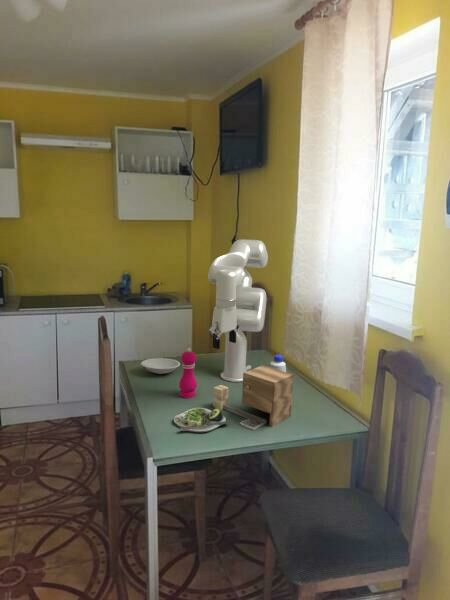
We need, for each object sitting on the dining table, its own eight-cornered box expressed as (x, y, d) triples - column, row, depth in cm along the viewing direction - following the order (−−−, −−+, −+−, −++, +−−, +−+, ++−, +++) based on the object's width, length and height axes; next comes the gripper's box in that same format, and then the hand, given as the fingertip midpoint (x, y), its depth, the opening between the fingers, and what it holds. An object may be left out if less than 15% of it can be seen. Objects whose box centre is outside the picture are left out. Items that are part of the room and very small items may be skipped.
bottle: (285, 401, 201) (288, 353, 197) (281, 407, 194) (285, 358, 190) (269, 398, 203) (272, 351, 199) (265, 405, 197) (268, 356, 193)
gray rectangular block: (250, 421, 183) (250, 417, 183) (263, 426, 179) (263, 422, 179) (240, 426, 179) (240, 422, 178) (253, 431, 175) (253, 427, 175)
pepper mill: (194, 399, 199) (195, 351, 195) (176, 397, 200) (177, 349, 196) (198, 393, 206) (200, 346, 202) (181, 391, 207) (182, 344, 203)
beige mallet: (219, 404, 196) (220, 384, 194) (268, 422, 181) (269, 401, 180) (213, 407, 193) (213, 387, 191) (261, 426, 178) (263, 405, 177)
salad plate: (197, 442, 165) (197, 429, 164) (160, 425, 177) (161, 412, 176) (234, 424, 180) (235, 412, 179) (199, 409, 191) (199, 398, 190)
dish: (181, 369, 234) (181, 359, 233) (177, 380, 219) (178, 369, 218) (144, 367, 234) (144, 357, 233) (137, 378, 220) (137, 367, 219)
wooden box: (260, 405, 196) (262, 365, 193) (290, 416, 187) (293, 374, 184) (239, 415, 186) (241, 373, 183) (269, 427, 177) (272, 383, 174)
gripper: (232, 296, 199) (231, 337, 203) (203, 304, 186) (202, 348, 190) (247, 300, 194) (245, 342, 198) (218, 308, 181) (217, 353, 185)
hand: (224, 345), depth 194 cm, fingers open, 9 cm apart
